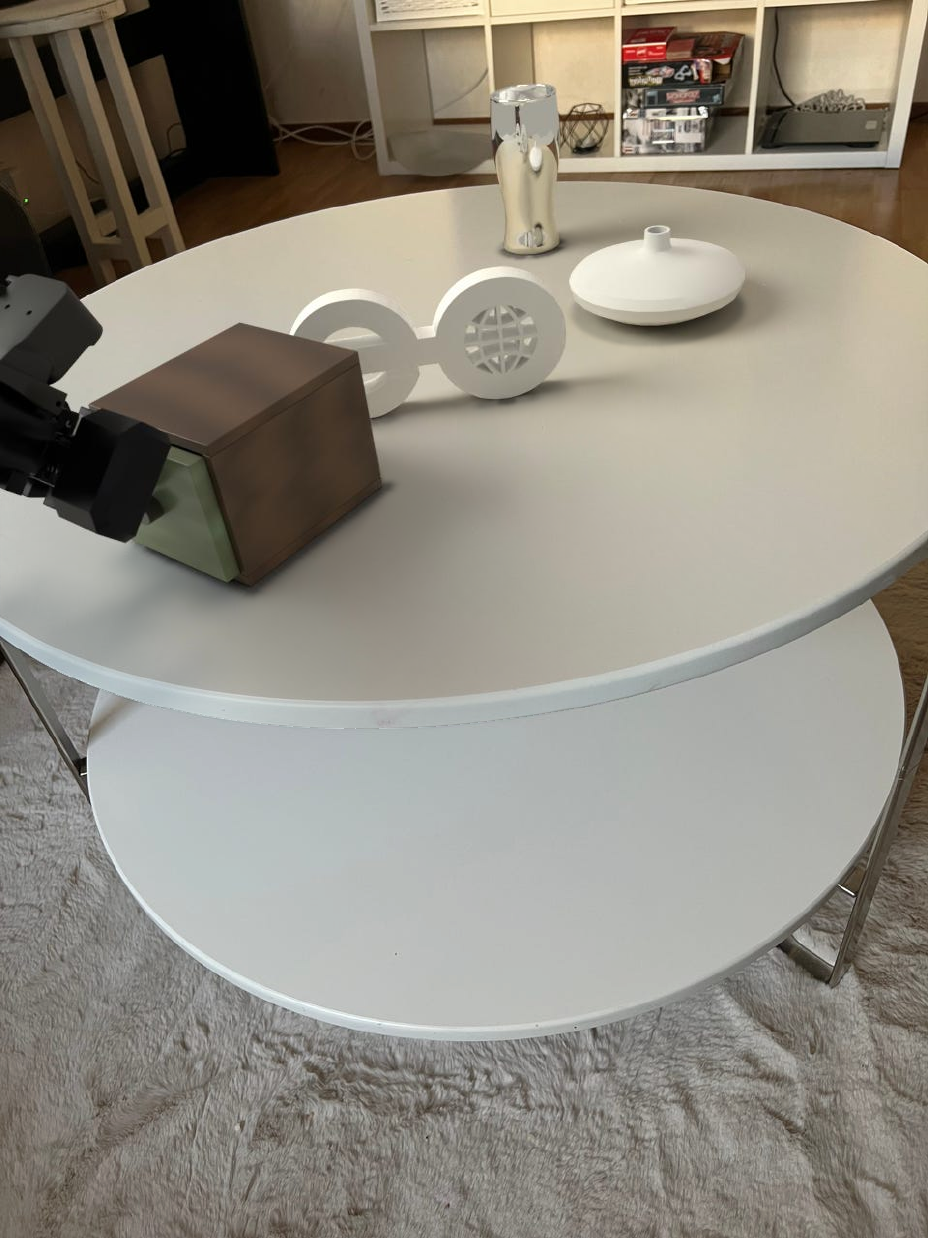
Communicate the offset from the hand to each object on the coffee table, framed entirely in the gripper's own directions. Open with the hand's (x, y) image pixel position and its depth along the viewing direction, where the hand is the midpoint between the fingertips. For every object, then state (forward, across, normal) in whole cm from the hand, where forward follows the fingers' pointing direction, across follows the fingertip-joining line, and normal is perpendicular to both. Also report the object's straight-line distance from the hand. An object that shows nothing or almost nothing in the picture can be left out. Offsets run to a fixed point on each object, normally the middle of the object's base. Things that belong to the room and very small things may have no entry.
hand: (145, 488), depth 62 cm
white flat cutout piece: (+23, -2, -15) cm, 28 cm away
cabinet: (+10, 0, -2) cm, 11 cm away
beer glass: (+45, +11, -40) cm, 61 cm away
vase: (+39, -9, -33) cm, 52 cm away
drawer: (+8, 0, 0) cm, 8 cm away
